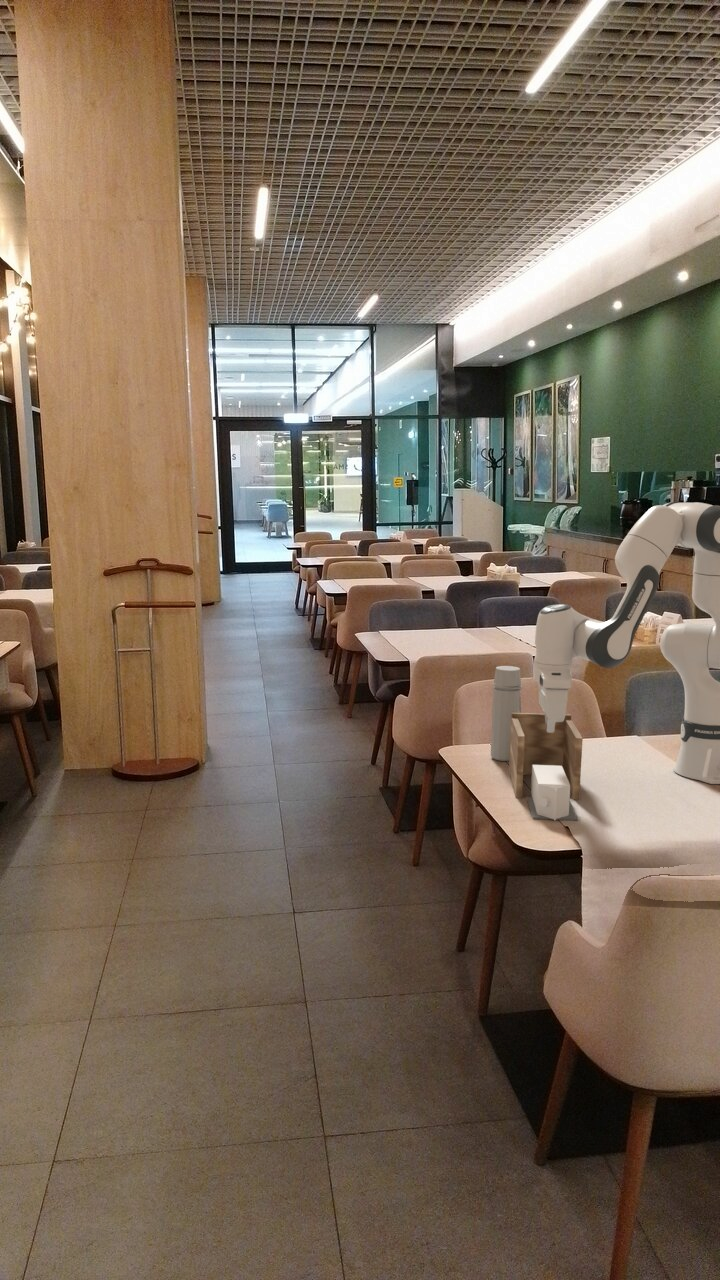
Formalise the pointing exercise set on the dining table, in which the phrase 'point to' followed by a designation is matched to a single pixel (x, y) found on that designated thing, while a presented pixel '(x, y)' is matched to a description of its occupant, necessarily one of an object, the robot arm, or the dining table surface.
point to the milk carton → (550, 791)
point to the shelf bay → (544, 749)
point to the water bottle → (504, 709)
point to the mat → (534, 814)
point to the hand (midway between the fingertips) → (549, 731)
